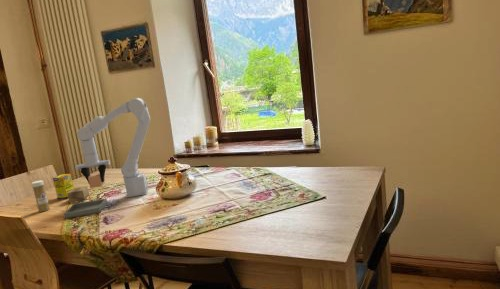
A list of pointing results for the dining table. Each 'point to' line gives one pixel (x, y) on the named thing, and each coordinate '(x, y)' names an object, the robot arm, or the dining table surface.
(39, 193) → the sprinkles bottle
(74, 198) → the oak block
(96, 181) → the terracotta block
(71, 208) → the tray
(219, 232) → the dining table surface
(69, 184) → the supplement box
